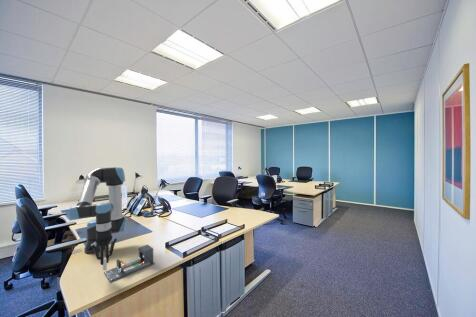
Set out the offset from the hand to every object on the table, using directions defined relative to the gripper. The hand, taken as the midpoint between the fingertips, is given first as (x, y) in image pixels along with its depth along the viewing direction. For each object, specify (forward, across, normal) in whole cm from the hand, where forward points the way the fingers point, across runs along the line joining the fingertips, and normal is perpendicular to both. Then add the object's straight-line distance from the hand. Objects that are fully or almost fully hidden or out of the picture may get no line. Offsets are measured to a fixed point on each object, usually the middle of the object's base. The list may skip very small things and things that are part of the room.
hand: (104, 269), depth 117 cm
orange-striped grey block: (+4, +13, 0) cm, 14 cm away
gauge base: (+6, +14, 0) cm, 15 cm away
